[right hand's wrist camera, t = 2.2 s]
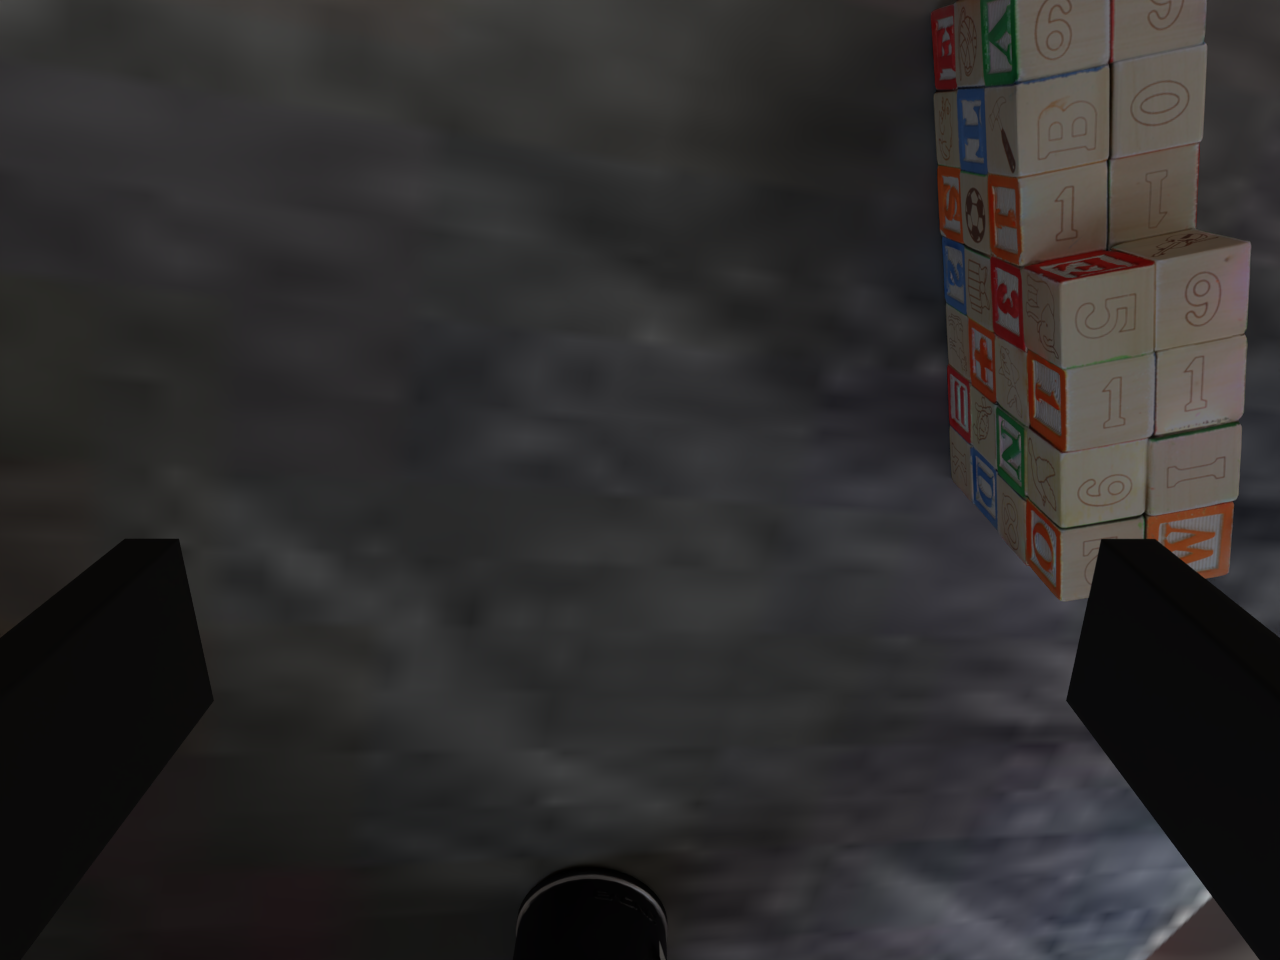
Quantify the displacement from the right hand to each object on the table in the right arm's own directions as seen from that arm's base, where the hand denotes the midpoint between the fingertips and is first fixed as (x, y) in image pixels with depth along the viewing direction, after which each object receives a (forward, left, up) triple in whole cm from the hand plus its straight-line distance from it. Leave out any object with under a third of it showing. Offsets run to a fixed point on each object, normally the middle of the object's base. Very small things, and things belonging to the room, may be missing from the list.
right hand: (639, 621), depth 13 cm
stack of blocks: (-7, +15, -30) cm, 34 cm away
